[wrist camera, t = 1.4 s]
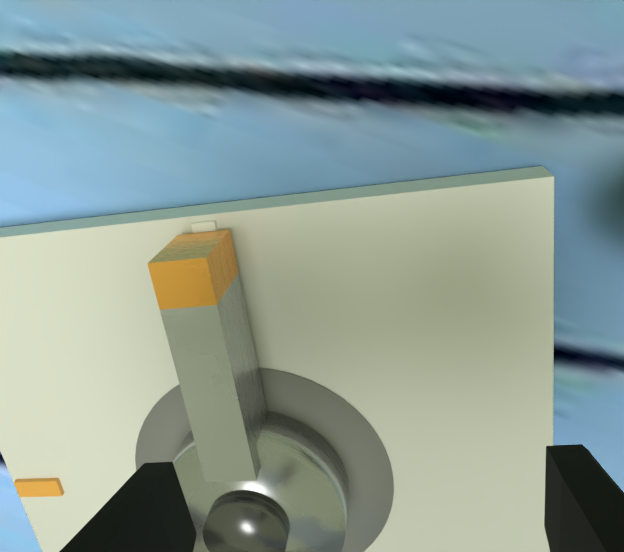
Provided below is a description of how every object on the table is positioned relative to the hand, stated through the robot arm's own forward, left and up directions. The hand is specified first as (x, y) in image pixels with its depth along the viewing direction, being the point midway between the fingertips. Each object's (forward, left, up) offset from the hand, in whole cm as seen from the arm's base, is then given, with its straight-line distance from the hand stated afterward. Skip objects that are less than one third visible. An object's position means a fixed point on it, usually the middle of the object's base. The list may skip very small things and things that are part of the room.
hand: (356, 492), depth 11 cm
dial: (-4, +5, -9) cm, 11 cm away
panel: (-8, +5, -11) cm, 14 cm away
